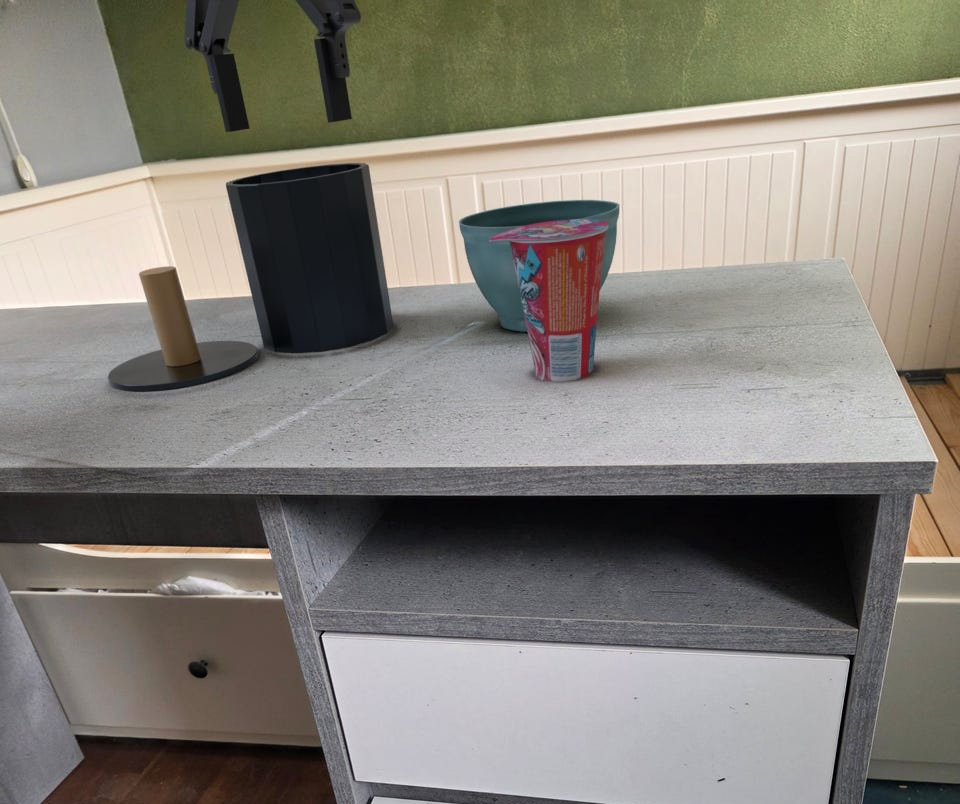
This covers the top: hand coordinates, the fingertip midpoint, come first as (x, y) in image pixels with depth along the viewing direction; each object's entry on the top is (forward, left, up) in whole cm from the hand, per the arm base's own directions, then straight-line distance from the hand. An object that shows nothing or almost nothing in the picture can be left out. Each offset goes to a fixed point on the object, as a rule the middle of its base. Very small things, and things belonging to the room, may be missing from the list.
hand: (287, 126), depth 87 cm
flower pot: (+22, +10, -21) cm, 32 cm away
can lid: (-8, -14, -20) cm, 26 cm away
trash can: (0, 0, -21) cm, 21 cm away
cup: (+32, -6, -21) cm, 39 cm away
